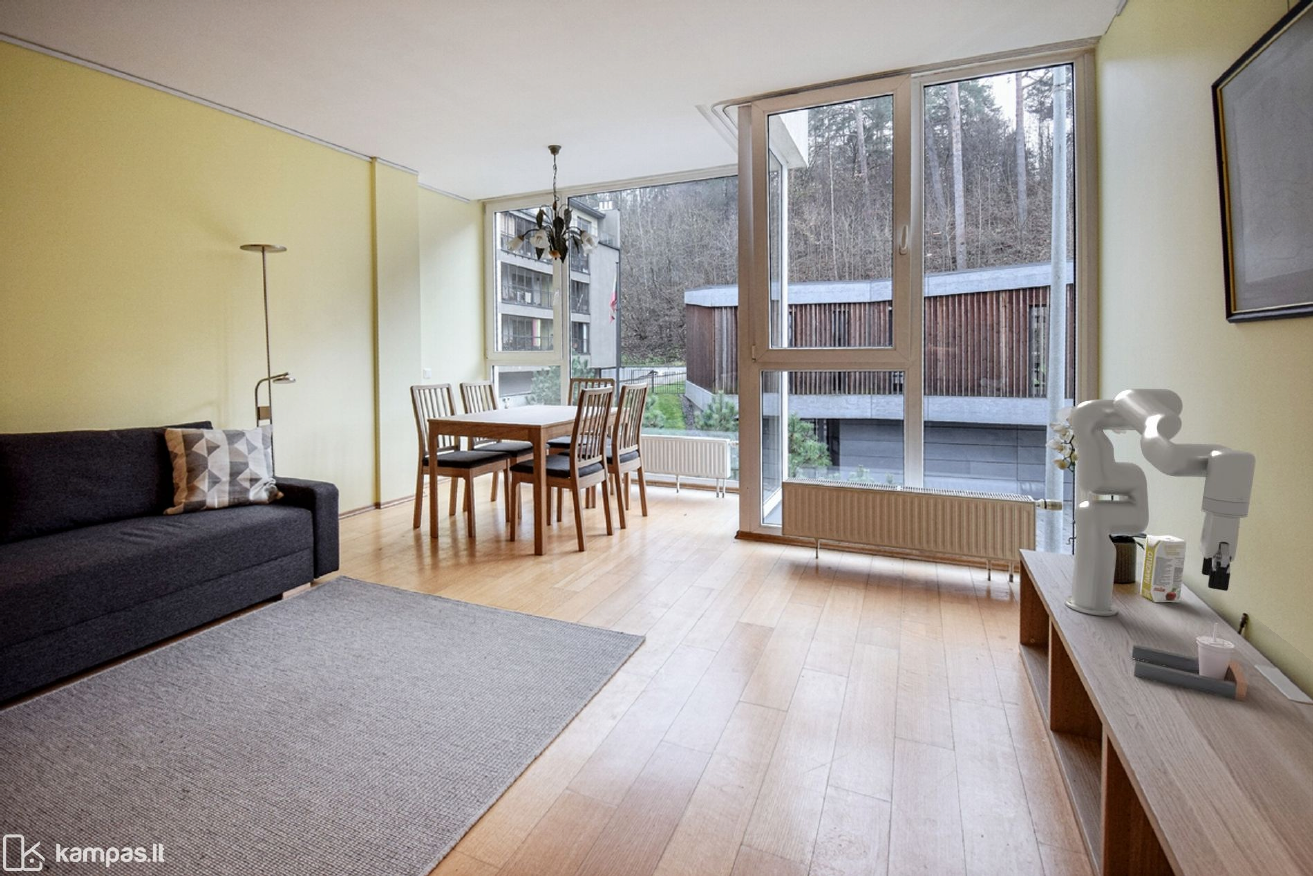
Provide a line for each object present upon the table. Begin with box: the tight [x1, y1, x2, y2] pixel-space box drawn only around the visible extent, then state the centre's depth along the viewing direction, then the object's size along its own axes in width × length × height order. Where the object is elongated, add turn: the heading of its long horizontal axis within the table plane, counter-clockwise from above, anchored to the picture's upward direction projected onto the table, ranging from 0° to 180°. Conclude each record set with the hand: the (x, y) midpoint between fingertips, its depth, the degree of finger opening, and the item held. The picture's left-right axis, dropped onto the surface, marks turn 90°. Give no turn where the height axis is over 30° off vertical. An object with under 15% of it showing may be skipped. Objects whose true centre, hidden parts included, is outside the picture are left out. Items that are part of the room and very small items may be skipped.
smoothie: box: [1195, 622, 1236, 681], centre depth 138 cm, size 6×6×14 cm
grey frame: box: [1131, 644, 1248, 703], centre depth 142 cm, size 12×19×4 cm, turn 55°
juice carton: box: [1140, 534, 1187, 603], centre depth 187 cm, size 8×9×19 cm
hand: (1214, 582), depth 139 cm, fingers open, 9 cm apart
